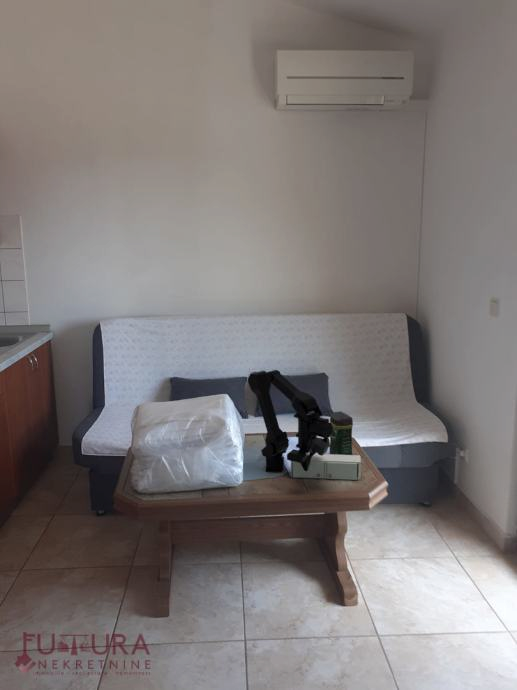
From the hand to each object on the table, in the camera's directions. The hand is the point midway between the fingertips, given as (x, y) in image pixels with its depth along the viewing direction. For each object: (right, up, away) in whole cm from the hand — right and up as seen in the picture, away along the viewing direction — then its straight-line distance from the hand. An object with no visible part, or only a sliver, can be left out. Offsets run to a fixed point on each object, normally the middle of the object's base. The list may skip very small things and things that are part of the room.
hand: (305, 470), depth 205 cm
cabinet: (+8, -3, +7) cm, 11 cm away
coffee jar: (+16, 0, +23) cm, 29 cm away
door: (+1, -4, +5) cm, 6 cm away
